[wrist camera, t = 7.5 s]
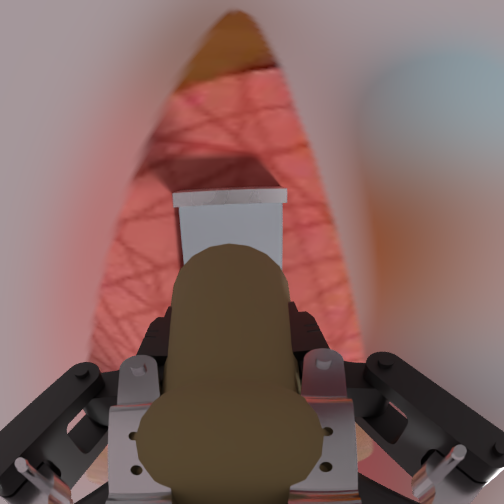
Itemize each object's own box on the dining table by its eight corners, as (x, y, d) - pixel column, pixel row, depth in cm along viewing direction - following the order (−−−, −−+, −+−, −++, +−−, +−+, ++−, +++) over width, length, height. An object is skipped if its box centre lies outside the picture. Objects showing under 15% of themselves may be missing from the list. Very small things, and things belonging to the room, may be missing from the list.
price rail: (281, 198, 21) (287, 202, 19) (180, 202, 21) (173, 207, 19) (281, 186, 21) (286, 188, 19) (179, 190, 21) (172, 193, 18)
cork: (245, 362, 15) (263, 545, 5) (153, 312, 14) (77, 503, 3) (312, 285, 14) (423, 475, 3) (213, 218, 13) (147, 433, 2)
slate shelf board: (280, 290, 24) (281, 293, 23) (188, 294, 23) (187, 297, 23) (281, 198, 21) (282, 199, 21) (180, 202, 21) (178, 203, 20)
